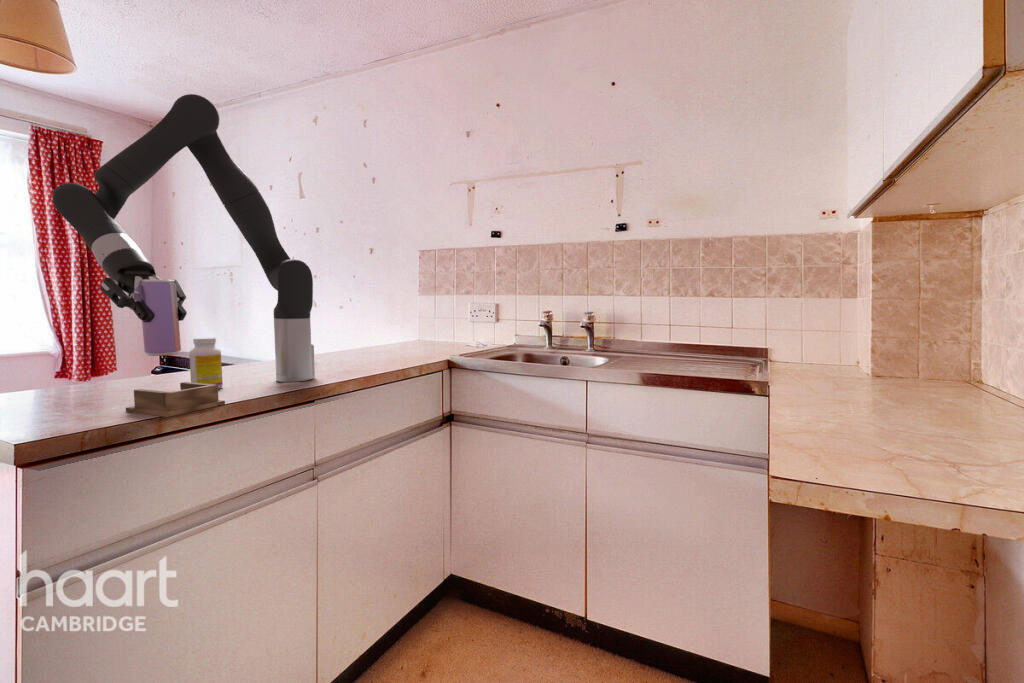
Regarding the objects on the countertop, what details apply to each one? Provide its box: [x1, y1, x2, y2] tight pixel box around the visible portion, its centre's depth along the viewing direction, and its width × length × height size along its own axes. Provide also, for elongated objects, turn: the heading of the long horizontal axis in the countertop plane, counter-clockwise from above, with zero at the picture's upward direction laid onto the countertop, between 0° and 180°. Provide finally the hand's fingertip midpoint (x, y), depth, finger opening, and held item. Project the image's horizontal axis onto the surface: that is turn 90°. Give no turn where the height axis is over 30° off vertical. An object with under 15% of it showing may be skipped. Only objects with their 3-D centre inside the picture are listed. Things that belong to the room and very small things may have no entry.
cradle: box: [125, 381, 226, 418], centre depth 98 cm, size 12×12×4 cm
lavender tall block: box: [139, 279, 182, 357], centre depth 96 cm, size 6×6×15 cm
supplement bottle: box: [188, 337, 224, 390], centre depth 118 cm, size 7×7×13 cm
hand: (166, 318), depth 95 cm, fingers closed on lavender tall block, 6 cm apart
